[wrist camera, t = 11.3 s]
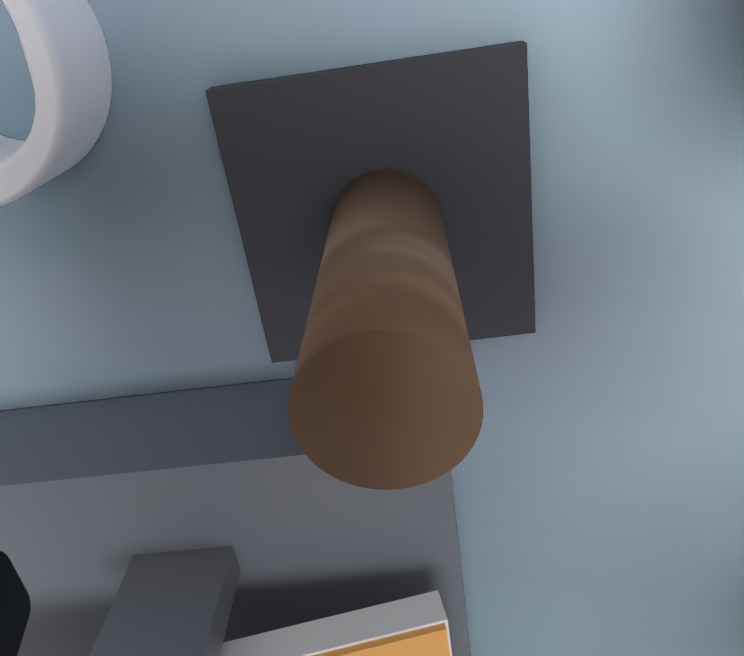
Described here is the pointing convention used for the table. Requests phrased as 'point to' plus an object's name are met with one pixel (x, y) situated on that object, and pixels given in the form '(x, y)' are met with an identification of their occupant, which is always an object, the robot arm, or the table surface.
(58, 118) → the white lobed tray
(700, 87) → the table surface
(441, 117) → the black mat
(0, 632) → the robot arm
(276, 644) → the white and orange panel
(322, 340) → the walnut cylinder
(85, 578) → the grey square block
